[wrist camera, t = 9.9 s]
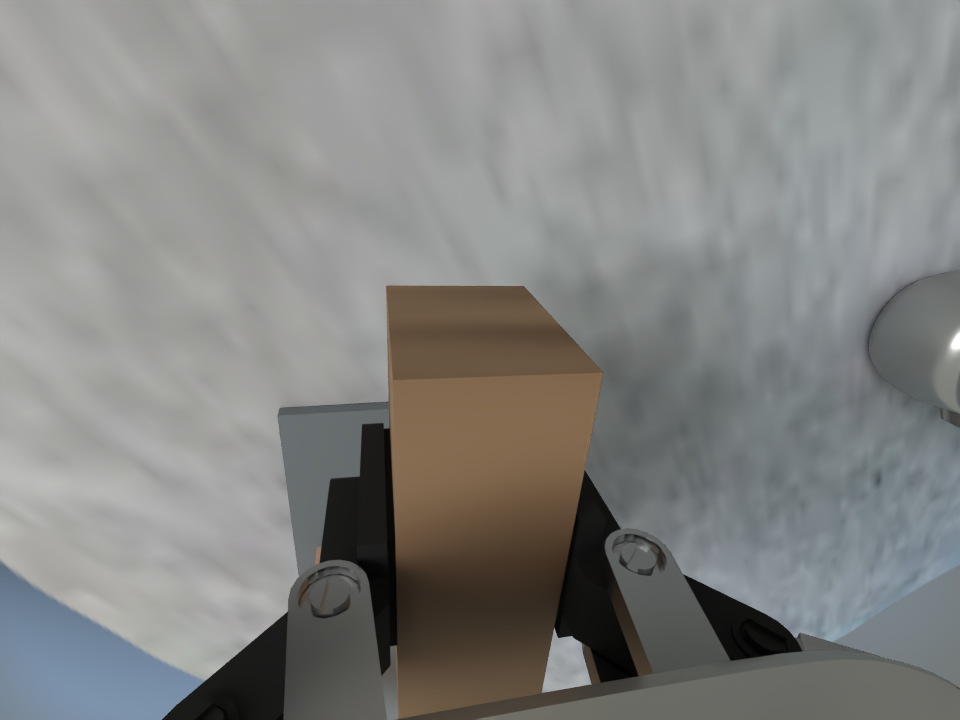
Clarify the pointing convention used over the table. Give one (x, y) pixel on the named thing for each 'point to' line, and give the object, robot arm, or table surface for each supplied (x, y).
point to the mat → (320, 463)
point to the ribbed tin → (950, 417)
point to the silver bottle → (922, 341)
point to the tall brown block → (480, 489)
